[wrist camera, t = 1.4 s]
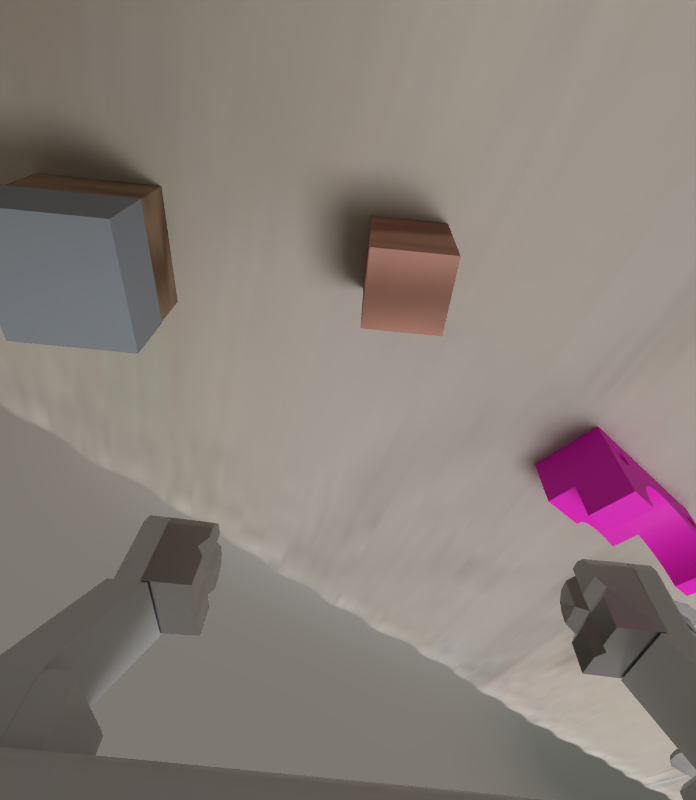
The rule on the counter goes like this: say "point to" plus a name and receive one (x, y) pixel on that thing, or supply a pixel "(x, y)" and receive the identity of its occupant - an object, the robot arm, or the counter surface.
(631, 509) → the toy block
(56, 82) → the counter surface
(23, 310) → the tower middle
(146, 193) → the tower base
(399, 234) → the reddish brown cube
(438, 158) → the counter surface
